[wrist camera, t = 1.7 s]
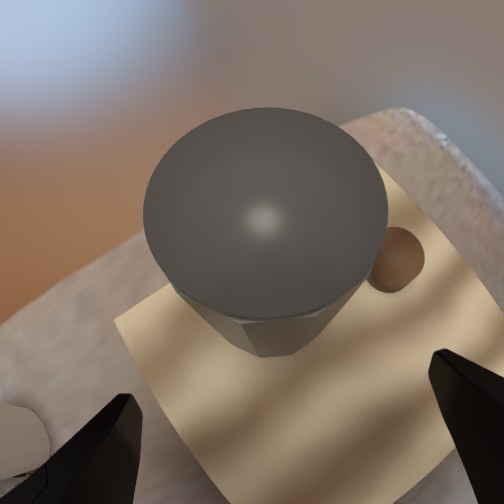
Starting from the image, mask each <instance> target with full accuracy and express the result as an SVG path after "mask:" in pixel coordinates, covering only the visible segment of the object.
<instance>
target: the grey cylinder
mask: <svg viewBox="0 0 504 504" xmlns="http://www.w3.org/2000/svg"><path fill="white" fill-rule="evenodd" d="M388 209H389V208H388V199H387V193H386V189H385V185H384V182H383V179H382V177H381V174H380V172H379V170H378V168H377V166H376V165H375V163H374V161H373V160H372V158H371V157H370V156H369V154H368V153H367V152H366V150H365V149H364V148H363V147H362V146H361V145H360V144H359V143H358V142H357V141H356V140H355V139H354V138H353V137H351V136H350V135H349V134H347V133H346V132H345V131H344V130H342V129H340V128H339V127H337V126H335V125H334V124H332V123H330V122H328V121H326V120H324V119H322V118H319V117H316V116H314V115H311V114H308V113H304V112H300V111H296V110H290V109H283V108H252V109H245V110H239V111H235V112H231V113H227V114H225V115H221V116H219V117H216V118H213V119H211V120H209V121H207V122H205V123H203V124H201V125H199V126H198V127H196V128H194V129H193V130H191V131H190V132H188V133H187V134H186V135H185V136H183V137H182V138H181V139H180V140H178V141H177V142H176V143H175V144H174V145H173V146H172V147H171V148H170V149H169V150H168V152H167V153H166V154H165V155H164V156H163V158H162V159H161V161H160V162H159V164H158V165H157V167H156V169H155V170H154V172H153V174H152V176H151V178H150V181H149V184H148V187H147V190H146V194H145V199H144V208H143V222H144V230H145V235H146V238H147V242H148V245H149V248H150V250H151V252H152V254H153V256H154V258H155V260H156V262H157V263H158V265H159V266H160V268H161V269H162V271H163V272H164V273H165V274H166V276H167V278H168V279H169V281H170V283H171V284H172V286H173V288H174V290H175V291H176V293H177V294H178V295H179V296H180V297H181V298H182V299H183V300H184V301H185V302H187V303H188V304H189V305H190V306H191V307H192V308H193V309H194V310H195V311H196V312H197V313H198V314H199V315H200V316H201V317H202V318H203V319H204V320H205V321H207V322H208V323H209V324H210V325H211V326H212V327H213V328H214V329H215V330H216V331H217V332H218V333H219V334H221V335H222V336H223V337H224V338H225V339H226V340H227V341H228V342H229V343H231V344H232V345H233V346H235V347H238V348H240V349H242V350H244V351H246V352H248V353H250V354H253V355H255V356H257V357H259V358H266V357H277V356H287V355H292V354H294V353H295V352H297V351H298V350H299V349H301V348H302V347H304V346H305V345H306V344H308V343H309V342H310V341H312V340H313V339H314V338H316V337H317V336H318V335H319V334H320V333H321V332H322V330H323V329H324V328H325V327H326V326H327V325H328V324H329V323H330V321H331V320H332V319H333V318H334V317H335V316H336V315H337V313H338V312H339V311H340V310H341V309H342V308H343V306H344V305H345V304H346V303H347V302H348V301H349V299H350V298H351V297H352V296H353V295H354V293H355V292H356V291H357V290H358V289H359V287H360V286H361V285H362V284H363V282H364V281H365V280H366V279H367V277H368V276H369V275H370V274H371V271H372V268H373V265H374V262H375V259H376V256H377V254H378V253H379V251H380V248H381V246H382V243H383V241H384V238H385V234H386V229H387V224H388Z"/></svg>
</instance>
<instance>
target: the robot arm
mask: <svg viewBox="0 0 504 504" xmlns="http://www.w3.org/2000/svg"><path fill="white" fill-rule="evenodd" d="M428 377H429V380H430V383H431V386H432V388H433V391H434V394H435V397H436V400H437V403H438V406H439V409H440V412H441V414H442V417H443V419H444V422H445V424H446V426H447V428H448V430H449V433H450V435H451V437H452V439H453V442H454V444H455V446H456V448H457V451H458V453H459V455H460V458H461V460H462V463H463V465H464V468H465V470H466V473H467V475H468V478H469V480H470V483H471V485H472V488H473V491H474V493H475V496H476V499H477V502H478V504H504V377H502V376H500V375H498V374H496V373H494V372H492V371H490V370H488V369H486V368H484V367H482V366H480V365H478V364H476V363H474V362H472V361H471V360H469V359H467V358H465V357H463V356H461V355H459V354H457V353H455V352H453V351H451V350H449V349H446V348H443V349H440V350H437V351H435V352H434V353H433V355H432V358H431V362H430V366H429V369H428ZM142 421H143V415H142V411H141V409H140V407H139V405H138V403H137V402H136V400H135V398H134V396H133V395H132V394H130V393H120V394H118V395H117V396H116V397H114V398H113V399H112V400H111V401H110V402H109V403H108V404H107V405H106V406H105V407H104V408H103V409H102V410H101V411H100V412H99V413H97V414H96V415H95V416H94V417H93V418H92V419H91V420H90V421H89V422H88V423H87V424H86V425H85V426H84V427H82V428H81V429H80V430H79V431H78V432H77V433H76V434H75V435H74V436H73V437H72V438H71V439H70V440H69V441H67V442H66V443H65V444H64V445H63V446H62V447H61V448H60V449H59V450H58V451H57V452H56V453H54V454H53V455H52V456H51V457H50V458H49V459H48V460H47V461H46V462H45V463H44V464H42V465H41V466H40V467H39V468H38V469H37V470H36V471H35V472H34V473H32V474H31V475H30V476H29V477H28V478H26V479H25V480H24V481H23V482H21V483H20V484H19V485H17V486H16V487H15V488H13V489H12V490H11V491H9V492H8V493H6V494H5V495H4V496H2V497H1V498H0V504H133V499H134V492H135V486H136V480H137V474H138V468H139V462H140V451H141V435H142Z"/></svg>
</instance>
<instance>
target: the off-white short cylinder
mask: <svg viewBox="0 0 504 504" xmlns="http://www.w3.org/2000/svg"><path fill="white" fill-rule="evenodd" d="M50 450H51V448H50V442H49V436H48V434H47V431H46V429H45V426H44V424H43V423H42V421H41V420H40V419H39V417H38V416H37V415H36V414H35V413H34V412H32V411H31V410H30V409H28V408H23V407H17V406H12V405H7V404H2V403H0V481H1V480H4V479H7V478H10V477H13V476H16V475H19V474H22V473H25V472H28V471H31V470H34V469H37V468H39V467H40V466H41V465H42V464H44V463H45V462H46V461H47V460H48V459H49V455H50Z"/></svg>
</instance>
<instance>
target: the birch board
mask: <svg viewBox="0 0 504 504" xmlns="http://www.w3.org/2000/svg"><path fill="white" fill-rule="evenodd" d="M374 163H375V162H374ZM375 165H376V166H377V168H378V170H379V172H380V174H381V177H382V179H383V182H384V185H385V189H386V193H387V199H388V208H389V209H388V224H387V228H388V227H401V228H404V229H406V230H408V231H410V232H411V233H412V234H414V235H415V236H416V237H417V239H418V240H419V241H420V243H421V245H422V247H423V250H424V254H425V262H424V267H423V269H422V271H421V273H420V274H419V275H418V276H417V277H416V278H415V279H413V280H412V281H411V282H410V283H409V284H408V285H406V286H405V287H404V288H403V289H401V290H400V291H398V292H395V293H384V292H381V291H378V290H376V289H375V288H373V287H372V286H371V285H370V284H369V283H368V281H367V280H365V281H364V282H363V284H362V285H361V286H360V287H359V289H358V290H357V291H356V292H355V293H354V295H353V296H352V297H351V298H350V299H349V301H348V302H347V303H346V304H345V305H344V306H343V308H342V309H341V310H340V311H339V312H338V313H337V315H336V316H335V317H334V318H333V319H332V320H331V321H330V323H329V324H328V325H327V326H326V327H325V328H324V329H323V330H322V332H321V333H320V334H319V335H318V336H317V337H316V338H314V339H313V340H312V341H310V342H309V343H308V344H306V345H305V346H304V347H302V348H301V349H299V350H298V351H297V352H295V353H294V354H292V355H287V356H277V357H266V358H259V357H257V356H255V355H253V354H250V353H248V352H246V351H244V350H242V349H240V348H238V347H235V346H233V345H232V344H231V343H229V342H228V341H227V340H226V339H225V338H224V337H223V336H222V335H221V334H219V333H218V332H217V331H216V330H215V329H214V328H213V327H212V326H211V325H210V324H209V323H208V322H207V321H205V320H204V319H203V318H202V317H201V316H200V315H199V314H198V313H197V312H196V311H195V310H194V309H193V308H192V307H191V306H190V305H189V304H188V303H187V302H185V301H184V300H183V299H182V298H181V297H180V296H179V295H178V294H177V293H176V291H175V290H174V288H173V286H172V284H171V283H169V284H167V285H166V286H164V287H163V288H161V289H160V290H158V291H157V292H155V293H154V294H152V295H151V296H149V297H148V298H146V299H145V300H143V301H142V302H140V303H139V304H137V305H136V306H134V307H133V308H131V309H130V310H128V311H127V312H125V313H124V314H122V315H121V316H119V317H118V318H116V319H115V320H114V321H115V323H116V326H117V328H118V330H119V332H120V334H121V336H122V338H123V340H124V342H125V344H126V346H127V348H128V350H129V351H130V353H131V355H132V357H133V359H134V361H135V363H136V365H137V366H138V368H139V370H140V372H141V374H142V376H143V377H144V379H145V381H146V383H147V384H148V386H149V388H150V390H151V391H152V393H153V395H154V396H155V398H156V400H157V401H158V403H159V405H160V406H161V408H162V409H163V411H164V413H165V414H166V416H167V417H168V419H169V421H170V422H171V424H172V425H173V427H174V428H175V430H176V431H177V433H178V434H179V436H180V437H181V439H182V440H183V442H184V443H185V445H186V446H187V447H188V449H189V450H190V452H191V453H192V455H193V456H194V457H195V459H196V460H197V461H198V463H199V464H200V466H201V467H202V468H203V470H204V471H205V472H206V474H207V475H208V476H209V477H210V479H211V480H212V481H213V483H214V484H215V485H216V486H217V488H218V489H219V490H220V491H221V493H222V494H223V495H224V496H225V498H226V499H227V500H228V501H229V502H230V504H392V503H394V502H395V501H396V500H398V499H399V498H400V497H401V496H403V495H404V494H405V493H406V492H408V491H409V490H410V489H411V488H412V487H414V486H415V485H416V484H417V483H418V482H419V481H420V480H422V479H423V478H424V477H425V476H426V475H427V474H428V473H429V472H430V471H432V470H433V469H434V468H435V467H436V466H437V465H438V464H439V463H440V462H441V461H442V460H443V459H444V458H445V457H446V456H447V455H448V454H449V453H450V452H451V451H452V450H453V449H454V448H455V447H456V446H455V444H454V442H453V439H452V437H451V435H450V433H449V430H448V428H447V426H446V424H445V422H444V419H443V417H442V414H441V412H440V409H439V406H438V403H437V400H436V397H435V394H434V391H433V388H432V386H431V383H430V380H429V377H428V369H429V366H430V362H431V358H432V355H433V353H434V352H435V351H437V350H440V349H443V348H446V349H449V350H451V351H453V352H455V353H457V354H459V355H461V356H463V357H465V358H467V359H469V360H471V361H472V362H474V363H476V364H478V365H480V366H482V367H484V368H486V369H488V370H490V371H492V372H494V373H496V374H498V375H500V376H502V377H504V314H503V313H502V311H501V310H500V308H499V307H498V305H497V304H496V302H495V301H494V300H493V298H492V297H491V295H490V294H489V292H488V291H487V290H486V288H485V287H484V285H483V284H482V283H481V281H480V280H479V279H478V277H477V276H476V275H475V273H474V272H473V271H472V269H471V268H470V267H469V265H468V264H467V263H466V261H465V260H464V259H463V258H462V256H461V255H460V254H459V253H458V251H457V250H456V249H455V248H454V246H453V245H452V244H451V243H450V242H449V240H448V239H447V238H446V237H445V236H444V235H443V233H442V232H441V231H440V230H439V229H438V228H437V226H436V225H435V224H434V223H433V222H432V221H431V220H430V218H429V217H428V216H427V215H426V214H425V213H424V212H423V211H422V210H421V209H420V207H419V206H418V205H417V204H416V203H415V202H414V201H413V200H412V199H411V198H410V197H409V196H408V195H407V194H406V193H405V192H404V191H403V190H402V189H401V187H400V186H399V185H398V184H397V183H396V182H395V181H394V180H393V179H392V178H391V177H390V176H389V175H387V174H386V173H385V172H384V171H383V170H382V169H381V168H380V167H379V166H378V165H377V164H376V163H375Z"/></svg>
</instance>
